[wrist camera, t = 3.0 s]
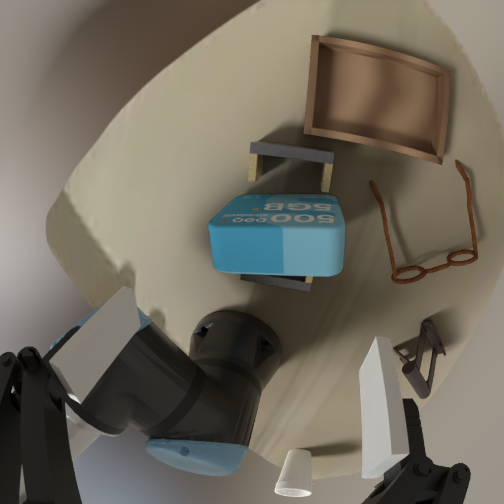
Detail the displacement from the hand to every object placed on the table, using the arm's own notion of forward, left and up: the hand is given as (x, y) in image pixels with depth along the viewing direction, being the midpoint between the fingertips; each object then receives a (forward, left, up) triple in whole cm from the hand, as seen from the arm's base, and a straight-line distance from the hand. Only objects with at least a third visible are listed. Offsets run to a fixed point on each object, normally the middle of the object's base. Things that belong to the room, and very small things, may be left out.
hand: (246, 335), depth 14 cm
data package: (0, 0, -22) cm, 23 cm away
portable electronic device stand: (+25, -18, -23) cm, 38 cm away
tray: (+9, +15, -22) cm, 29 cm away
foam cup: (+14, -64, -22) cm, 69 cm away
